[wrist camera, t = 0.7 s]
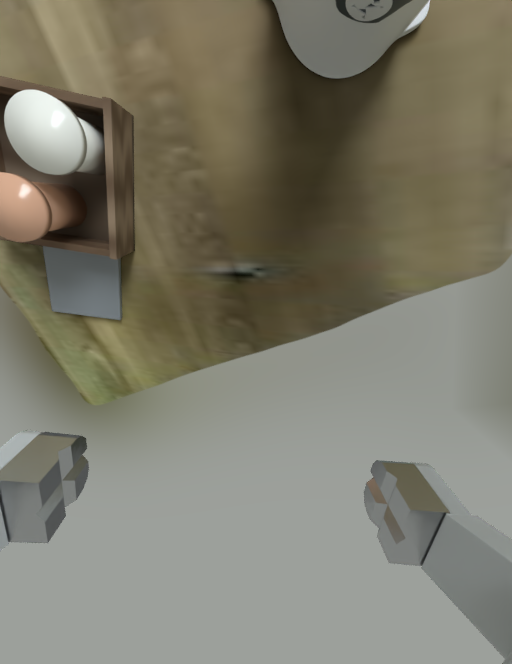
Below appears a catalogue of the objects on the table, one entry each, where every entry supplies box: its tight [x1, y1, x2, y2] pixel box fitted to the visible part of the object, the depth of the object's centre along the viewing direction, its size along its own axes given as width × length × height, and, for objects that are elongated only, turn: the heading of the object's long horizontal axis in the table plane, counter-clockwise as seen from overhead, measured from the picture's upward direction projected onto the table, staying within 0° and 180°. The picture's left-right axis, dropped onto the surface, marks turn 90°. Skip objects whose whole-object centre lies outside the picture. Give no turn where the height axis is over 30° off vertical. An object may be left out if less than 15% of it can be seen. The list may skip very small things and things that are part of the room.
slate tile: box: [43, 246, 122, 320], centre depth 42 cm, size 10×10×1 cm
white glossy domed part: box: [4, 90, 106, 175], centre depth 30 cm, size 6×6×10 cm
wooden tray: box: [0, 76, 135, 260], centre depth 33 cm, size 16×16×7 cm
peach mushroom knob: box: [0, 172, 87, 242], centre depth 32 cm, size 6×6×10 cm
